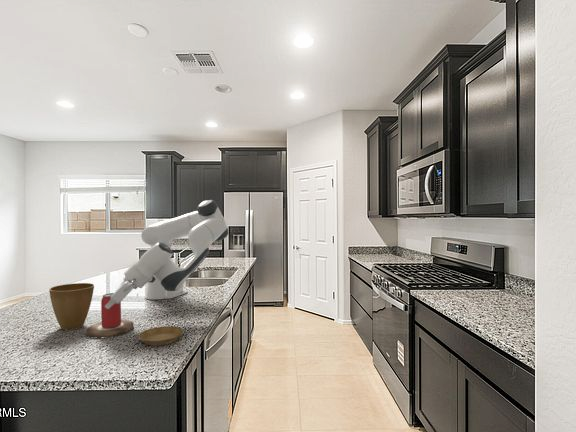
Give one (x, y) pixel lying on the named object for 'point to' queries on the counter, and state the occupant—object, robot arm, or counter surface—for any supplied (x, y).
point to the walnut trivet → (109, 329)
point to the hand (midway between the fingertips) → (108, 304)
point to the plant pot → (71, 304)
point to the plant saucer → (160, 335)
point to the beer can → (110, 313)
